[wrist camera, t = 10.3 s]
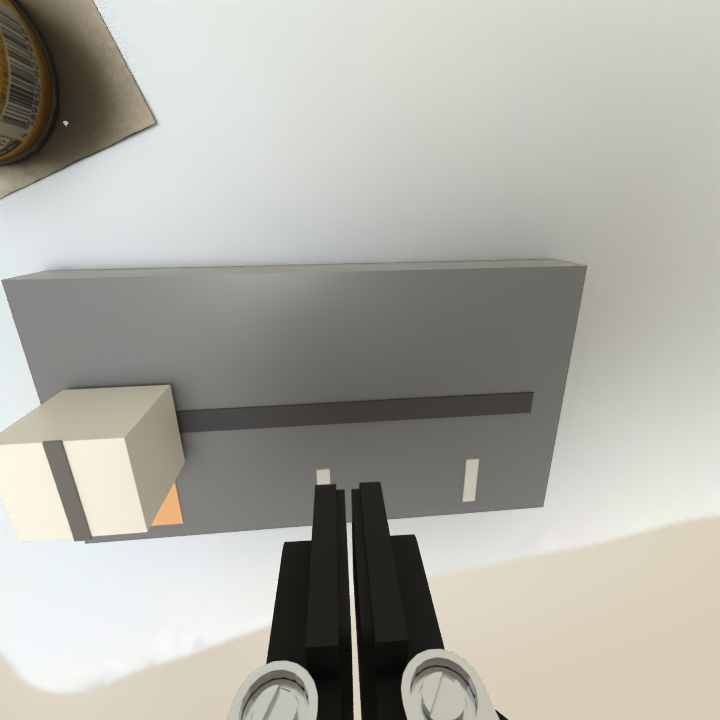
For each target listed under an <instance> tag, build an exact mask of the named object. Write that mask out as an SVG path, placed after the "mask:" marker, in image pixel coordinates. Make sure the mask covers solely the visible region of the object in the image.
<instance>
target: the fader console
mask: <svg viewBox="0 0 720 720" xmlns="http://www.w3.org/2000/svg"><path fill="white" fill-rule="evenodd" d="M586 269H587V266H586V265H581V264H576V263H571V262H565V261H560V260H555V259H538V260H494V261H451V262H407V263H363V264H319V265H275V266H231V267H187V268H143V269H99V270H55V271H42V272H38V273H33V274H28V275H23V276H18V277H13V278H8V279H4V280H1V281H2V284H3V287H4V290H5V294H6V297H7V300H8V303H9V306H10V309H11V312H12V315H13V319H14V322H15V325H16V328H17V331H18V334H19V337H20V340H21V344H22V347H23V350H24V353H25V356H26V359H27V362H28V365H29V369H30V372H31V375H32V378H33V381H34V384H35V387H36V390H37V394H38V397H39V400H40V403H41V405H42V404H43V403H45V402H46V401H48V400H49V399H50V398H52V397H53V396H55V395H56V394H58V393H59V392H61V391H62V390H71V389H92V388H113V387H134V386H154V385H170V386H171V391H172V396H173V401H174V407H175V412H176V417H177V422H178V427H179V433H180V438H181V443H182V448H183V454H184V459H185V463H184V465H183V467H182V469H181V471H180V473H179V474H178V476H177V478H176V480H175V482H174V484H173V486H172V487H171V489H170V491H169V493H168V495H167V497H166V499H165V500H164V502H163V504H162V506H161V508H160V510H159V512H158V513H157V515H156V517H155V519H154V521H153V523H152V524H151V526H150V528H149V530H148V532H142V533H130V534H117V535H104V536H92V539H91V540H84V541H85V544H87V543H99V542H112V541H124V540H137V539H149V538H162V537H174V536H187V535H199V534H212V533H224V532H237V531H249V530H262V529H274V528H287V527H299V526H312V525H313V510H314V493H315V485H322V484H336V490H340V489H345V508H346V523H349V522H352V501H351V489H359V483H361V482H380V483H381V487H382V493H383V499H384V504H385V510H386V516H387V519H399V518H412V517H424V516H437V515H449V514H462V513H474V512H487V511H499V510H512V509H524V508H537V507H543V505H544V500H545V494H546V489H547V483H548V478H549V472H550V467H551V461H552V456H553V450H554V445H555V439H556V434H557V428H558V423H559V417H560V412H561V406H562V401H563V395H564V390H565V384H566V379H567V373H568V368H569V363H570V357H571V352H572V346H573V341H574V335H575V330H576V324H577V319H578V313H579V308H580V302H581V297H582V291H583V286H584V280H585V275H586Z"/></svg>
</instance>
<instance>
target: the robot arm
mask: <svg viewBox="0 0 720 720" xmlns="http://www.w3.org/2000/svg"><path fill="white" fill-rule="evenodd" d="M351 501H352V547H353V580H354V598H355V614H356V631H357V647H358V648H357V649H358V664H359V682H360V699H361V717H362V720H508V719H507V718H505V717H504V716H503V715H501V714H500V713H499V712H498V711H496V710H495V709H494V707H493V704H492V702H491V700H490V698H489V695H488V693H487V691H486V689H485V687H484V685H483V682H482V681H481V679H480V677H479V676H478V674H477V672H476V671H475V670H474V668H473V667H472V666H471V665H470V664H469V663H468V662H467V661H466V660H465V659H464V658H462V657H460V656H458V655H457V654H455V653H453V652H450V651H447V650H445V649H444V645H443V641H442V637H441V633H440V629H439V625H438V622H437V618H436V614H435V610H434V606H433V602H432V598H431V594H430V590H429V586H428V582H427V578H426V574H425V570H424V567H423V563H422V559H421V555H420V551H419V547H418V543H417V540H416V537H415V535H414V534H413V535H396V536H390V533H389V527H388V521H387V516H386V510H385V504H384V499H383V493H382V487H381V483H380V482H361V483H359V489H351ZM227 720H354V715H353V675H352V641H351V616H350V595H349V573H348V551H347V530H346V508H345V489H340V490H336V484H322V485H315V493H314V510H313V527H312V541H295V542H285V543H284V545H283V551H282V558H281V565H280V572H279V579H278V586H277V593H276V600H275V607H274V614H273V621H272V628H271V635H270V642H269V649H268V656H267V663H266V665H264V666H261V667H260V668H258V669H257V670H256V671H254V672H253V673H252V674H250V675H249V676H248V678H247V679H246V680H245V681H244V683H243V684H242V685H241V686H240V688H239V690H238V692H237V694H236V696H235V698H234V700H233V702H232V705H231V708H230V711H229V714H228V717H227Z"/></svg>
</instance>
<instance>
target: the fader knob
mask: <svg viewBox="0 0 720 720" xmlns="http://www.w3.org/2000/svg"><path fill="white" fill-rule="evenodd" d="M184 463H185V459H184V454H183V448H182V443H181V438H180V433H179V427H178V422H177V417H176V412H175V407H174V401H173V396H172V391H171V386H170V385H154V386H134V387H113V388H92V389H71V390H62V391H61V392H59V393H58V394H56V395H55V396H53V397H52V398H50V399H49V400H48V401H46V402H45V403H43V404H42V405H40V406H39V407H37V408H36V409H34V410H33V411H32V412H30V413H29V414H27V415H26V416H24V417H23V418H21V419H20V420H18V421H17V422H15V423H14V424H13V425H11V426H10V427H8V428H7V429H5V430H4V431H2V432H1V433H0V496H1V499H2V501H3V504H4V506H5V509H6V511H7V514H8V516H9V519H10V521H11V524H12V526H13V529H14V532H15V534H16V537H17V539H18V542H28V541H41V540H53V539H66V538H74V541H84V540H91V539H92V536H104V535H117V534H130V533H142V532H148V530H149V528H150V526H151V524H152V523H153V521H154V519H155V517H156V515H157V513H158V512H159V510H160V508H161V506H162V504H163V502H164V500H165V499H166V497H167V495H168V493H169V491H170V489H171V487H172V486H173V484H174V482H175V480H176V478H177V476H178V474H179V473H180V471H181V469H182V467H183V465H184Z"/></svg>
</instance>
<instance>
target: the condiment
mask: <svg viewBox="0 0 720 720" xmlns="http://www.w3.org/2000/svg"><path fill="white" fill-rule="evenodd" d="M65 120H66V121H68V123H69V124H68V125H67V126H65V125H64V124H63V121H65ZM154 123H156V122H155V120H154V118H153V116H152V114H151V112H150V110H149V108H148V106H147V105H146V103H145V101H144V99H143V96H142V94H141V92H140V90H139V88H138V86H137V85H136V83H135V81H134V79H133V77H132V75H131V73H130V71H129V69H128V67H127V65H126V63H125V62H124V60H123V58H122V56H121V54H120V52H119V50H118V48H117V46H116V44H115V42H114V40H113V38H112V36H111V35H110V33H109V31H108V29H107V27H106V25H105V23H104V21H103V19H102V18H101V16H100V14H99V12H98V10H97V8H96V6H95V4H94V2H93V1H92V0H0V198H1V197H4V196H6V195H8V194H9V193H11V192H13V191H16V190H18V189H21V188H23V187H25V186H27V185H29V184H32V183H34V182H35V181H37V180H38V179H41V178H44V177H46V176H48V175H50V174H52V173H53V172H55V171H57V170H60V169H62V168H64V167H66V166H67V165H69V164H71V163H72V162H74V161H76V160H78V159H81V158H84V157H86V156H88V155H91V154H93V153H95V152H97V151H99V150H101V149H104V148H106V147H108V146H110V145H112V144H114V143H116V142H118V141H120V140H121V139H123V138H125V137H127V136H129V135H130V134H132V133H135V132H137V131H140V130H142V129H144V128H146V127H148V126H150V125H152V124H154Z"/></svg>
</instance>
